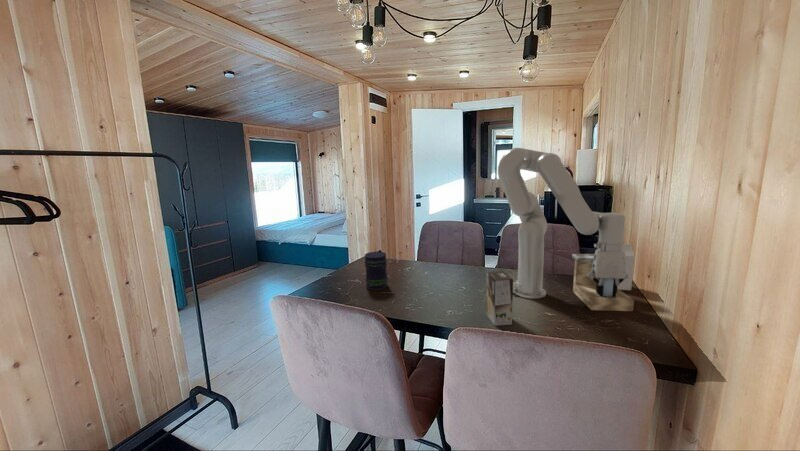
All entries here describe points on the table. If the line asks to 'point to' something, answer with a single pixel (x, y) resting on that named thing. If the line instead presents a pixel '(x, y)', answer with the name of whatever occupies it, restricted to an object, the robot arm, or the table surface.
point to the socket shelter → (587, 288)
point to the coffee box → (499, 298)
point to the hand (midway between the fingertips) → (606, 294)
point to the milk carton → (627, 267)
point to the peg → (608, 287)
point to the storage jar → (376, 270)
